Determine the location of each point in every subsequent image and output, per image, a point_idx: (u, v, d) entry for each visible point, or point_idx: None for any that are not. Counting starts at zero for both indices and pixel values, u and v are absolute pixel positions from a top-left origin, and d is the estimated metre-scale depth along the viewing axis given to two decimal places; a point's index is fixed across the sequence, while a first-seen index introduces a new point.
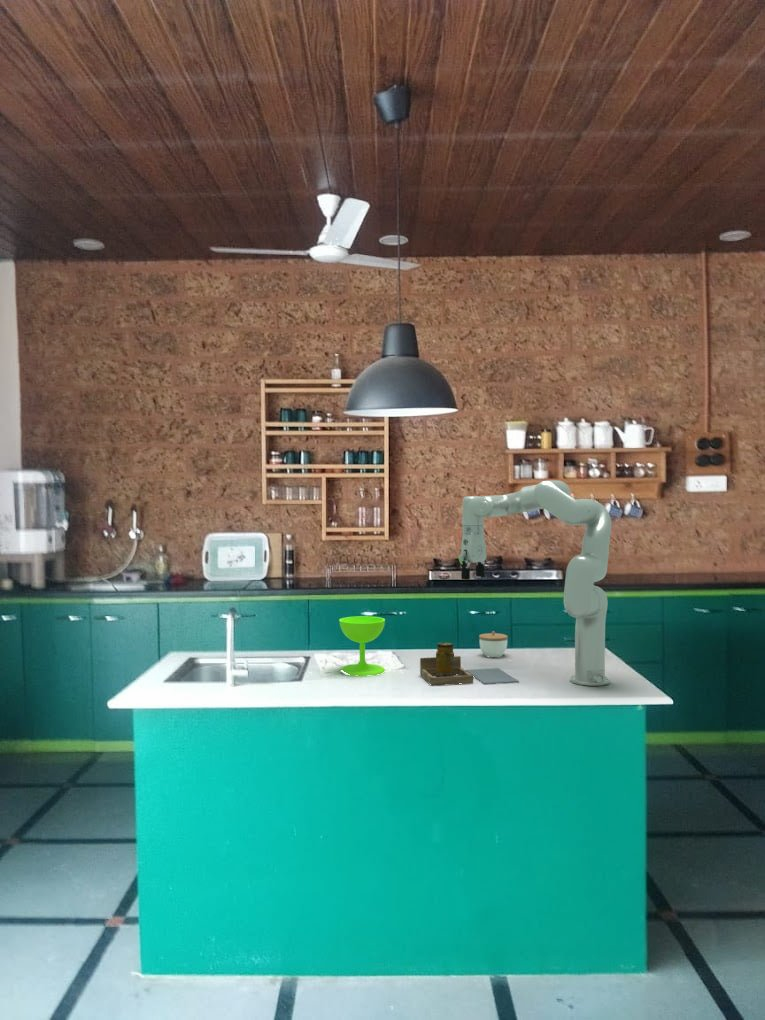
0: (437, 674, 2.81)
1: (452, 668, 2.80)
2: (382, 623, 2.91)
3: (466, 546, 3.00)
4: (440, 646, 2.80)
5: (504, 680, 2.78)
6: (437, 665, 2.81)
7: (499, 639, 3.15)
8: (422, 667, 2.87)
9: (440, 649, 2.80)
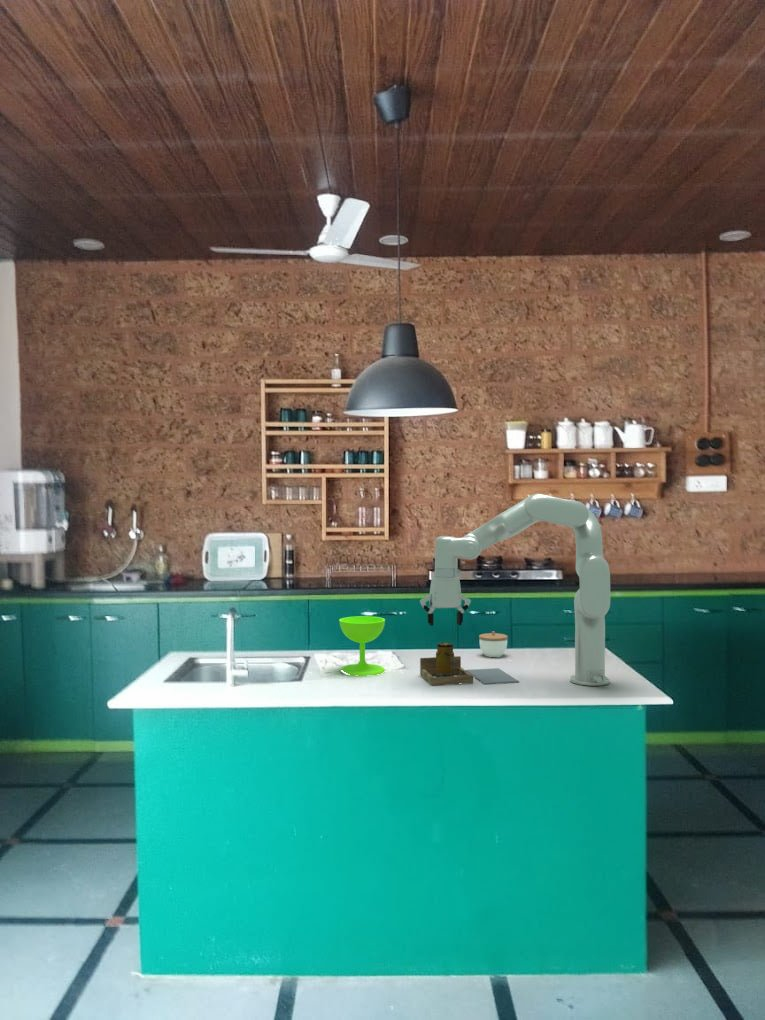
0: (437, 674, 2.81)
1: (452, 668, 2.80)
2: (382, 623, 2.91)
3: None
4: (440, 646, 2.80)
5: (504, 680, 2.78)
6: (437, 665, 2.81)
7: (499, 639, 3.15)
8: (422, 667, 2.87)
9: (440, 649, 2.80)
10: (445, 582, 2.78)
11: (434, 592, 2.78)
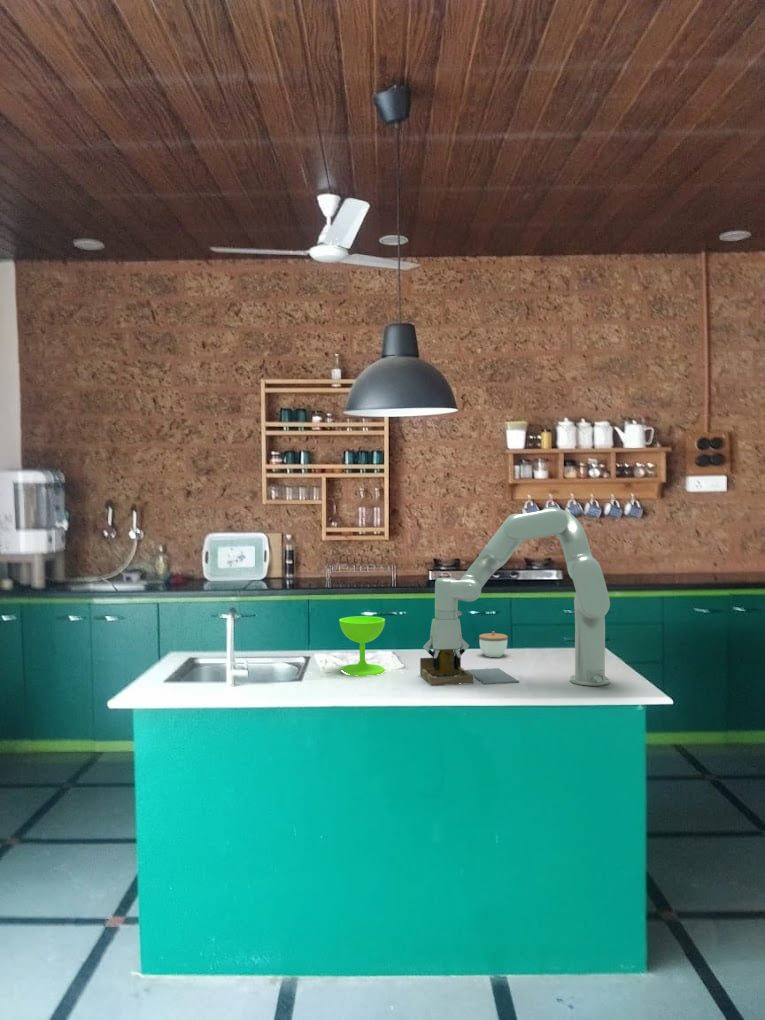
0: (437, 674, 2.81)
1: (452, 668, 2.80)
2: (382, 623, 2.91)
3: None
4: None
5: (504, 680, 2.78)
6: None
7: (499, 639, 3.15)
8: (422, 667, 2.87)
9: None
10: (446, 624, 2.78)
11: (435, 634, 2.78)
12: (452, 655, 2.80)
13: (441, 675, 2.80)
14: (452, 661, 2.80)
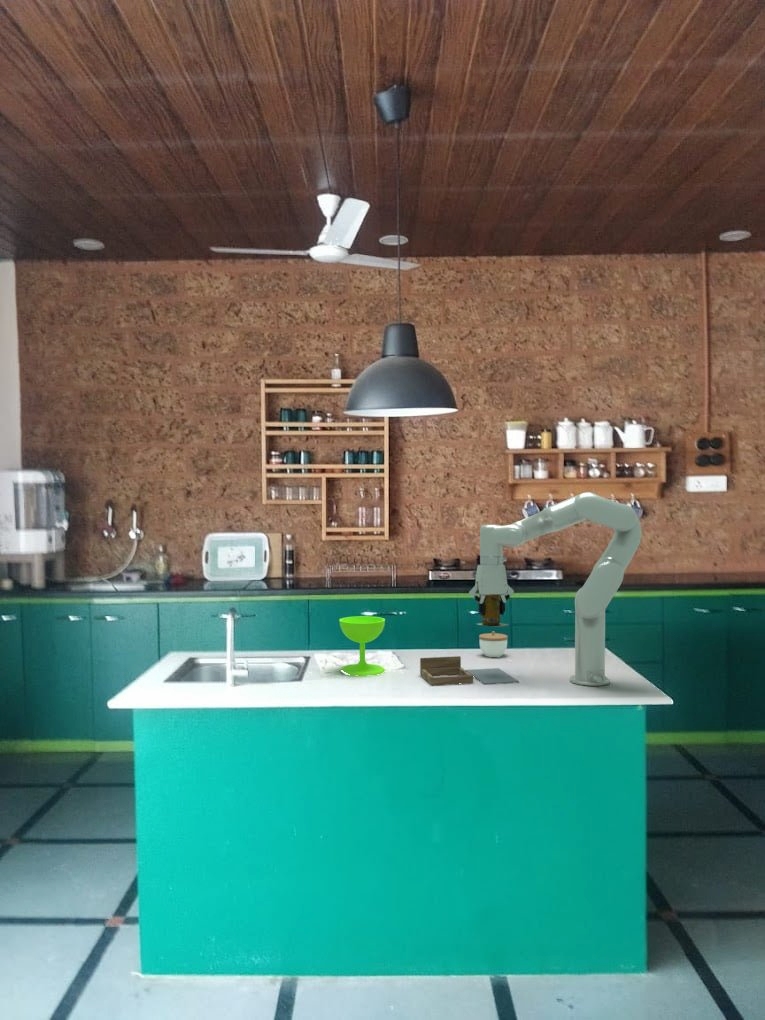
0: (483, 619, 2.85)
1: (498, 613, 2.84)
2: (382, 623, 2.91)
3: None
4: None
5: (504, 680, 2.78)
6: None
7: (499, 639, 3.15)
8: (422, 667, 2.87)
9: None
10: (491, 569, 2.82)
11: (481, 579, 2.82)
12: (498, 600, 2.84)
13: (487, 620, 2.83)
14: (498, 606, 2.84)
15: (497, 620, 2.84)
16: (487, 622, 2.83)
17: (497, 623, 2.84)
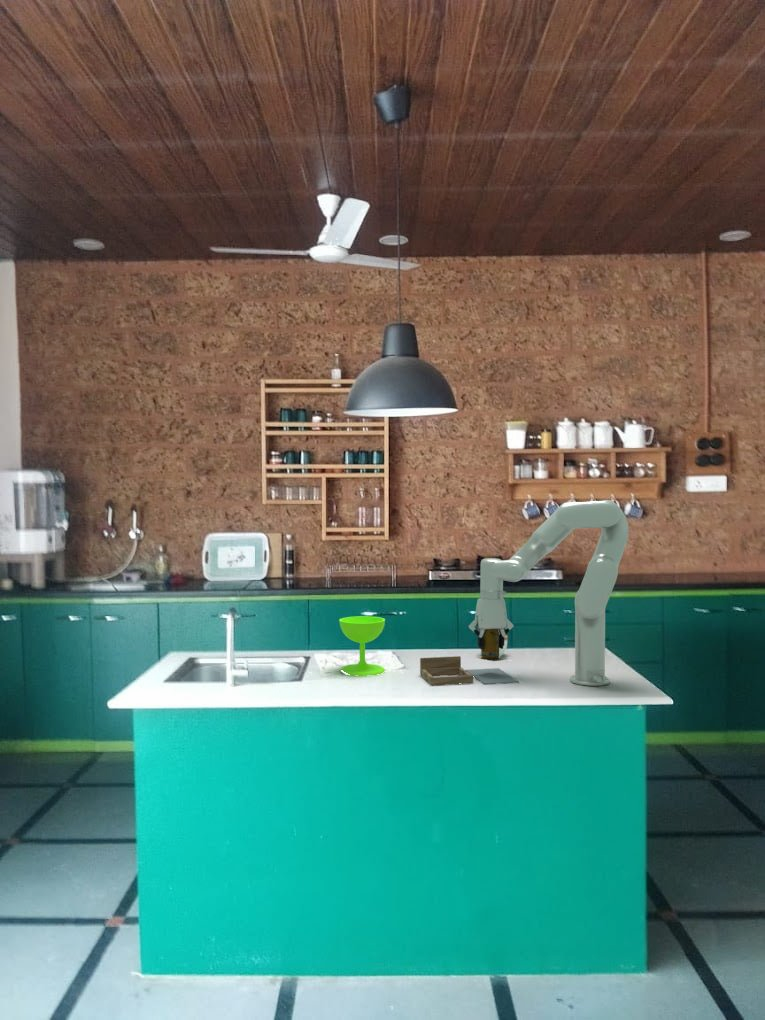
0: (482, 653, 2.85)
1: (497, 647, 2.84)
2: (382, 623, 2.91)
3: None
4: None
5: (504, 680, 2.78)
6: None
7: None
8: (422, 667, 2.87)
9: None
10: (491, 603, 2.82)
11: (480, 614, 2.82)
12: (497, 634, 2.84)
13: (486, 654, 2.84)
14: (497, 640, 2.84)
15: (496, 654, 2.84)
16: (486, 656, 2.84)
17: (496, 657, 2.84)
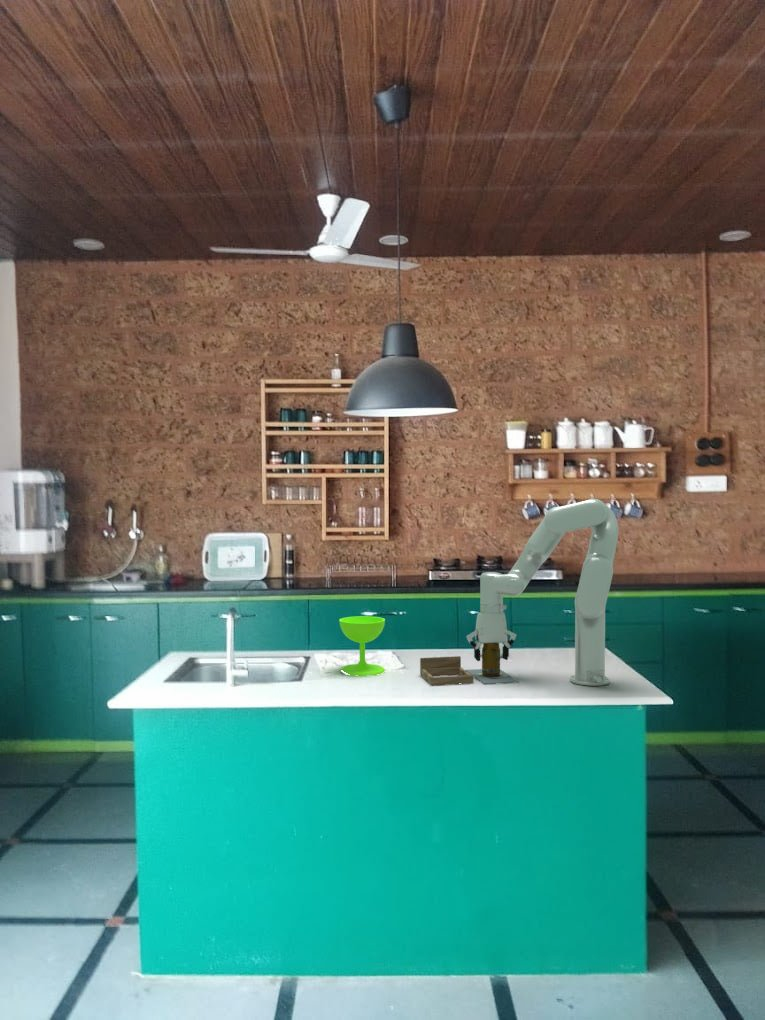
0: (483, 669, 2.85)
1: (498, 663, 2.84)
2: (382, 623, 2.91)
3: None
4: None
5: (504, 680, 2.78)
6: (483, 661, 2.85)
7: None
8: (422, 667, 2.87)
9: (486, 645, 2.84)
10: (491, 617, 2.82)
11: (481, 628, 2.82)
12: (498, 651, 2.84)
13: (487, 671, 2.84)
14: (498, 657, 2.84)
15: (497, 671, 2.84)
16: (487, 673, 2.84)
17: (497, 674, 2.84)
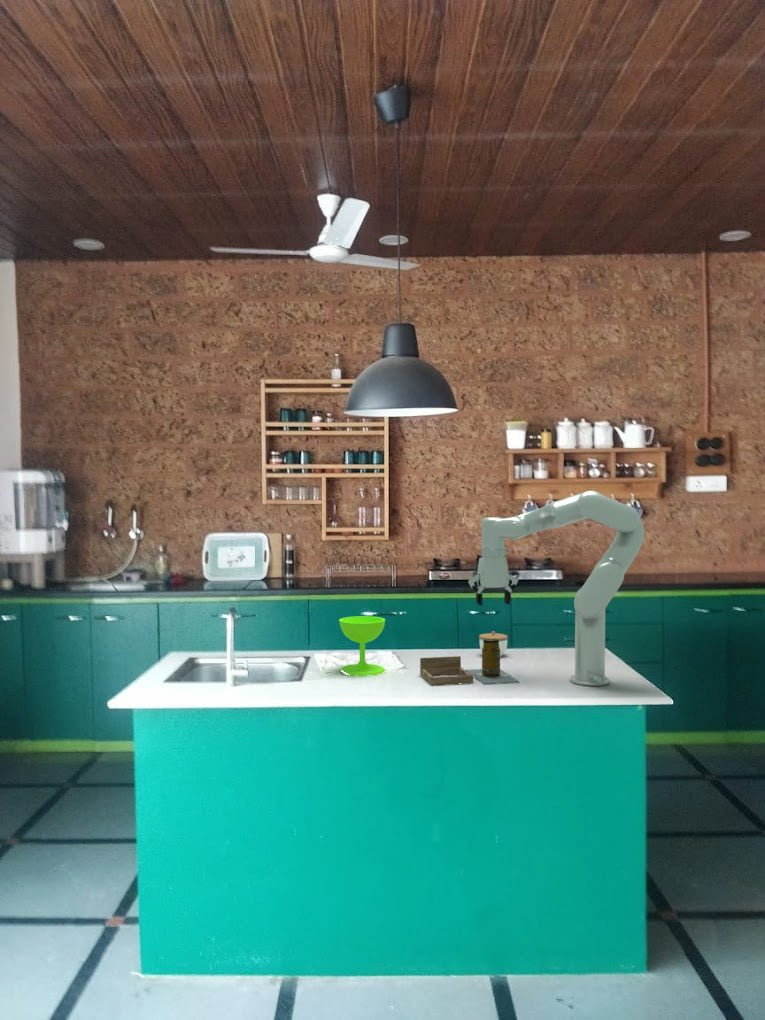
0: (483, 669, 2.85)
1: (498, 663, 2.84)
2: (382, 623, 2.91)
3: None
4: (486, 642, 2.84)
5: (504, 680, 2.78)
6: (483, 661, 2.85)
7: (499, 639, 3.15)
8: (422, 667, 2.87)
9: (486, 645, 2.84)
10: (493, 562, 2.83)
11: (483, 572, 2.82)
12: (498, 651, 2.84)
13: (487, 671, 2.84)
14: (498, 657, 2.84)
15: (497, 671, 2.84)
16: (487, 673, 2.84)
17: (497, 674, 2.84)
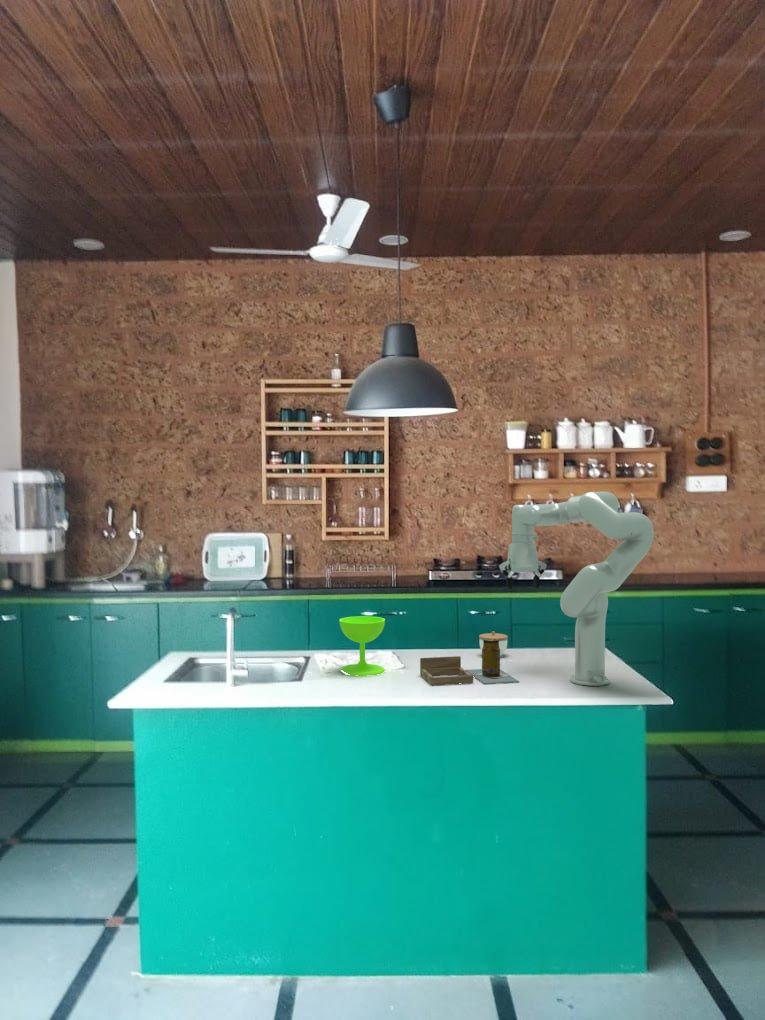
0: (483, 669, 2.85)
1: (498, 663, 2.84)
2: (382, 623, 2.91)
3: None
4: (486, 642, 2.84)
5: (504, 680, 2.78)
6: (483, 661, 2.85)
7: (499, 639, 3.15)
8: (422, 667, 2.87)
9: (486, 645, 2.84)
10: (523, 547, 2.95)
11: (513, 557, 2.94)
12: (498, 651, 2.84)
13: (487, 671, 2.84)
14: (498, 657, 2.84)
15: (497, 671, 2.84)
16: (487, 673, 2.84)
17: (497, 674, 2.84)
